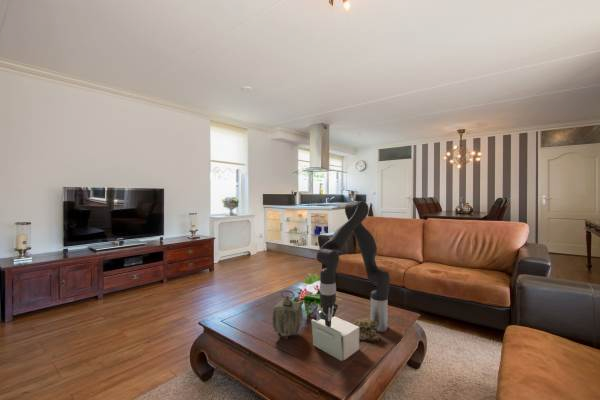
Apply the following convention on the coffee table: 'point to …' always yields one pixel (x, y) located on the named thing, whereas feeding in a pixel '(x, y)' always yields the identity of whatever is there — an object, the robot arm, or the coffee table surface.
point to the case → (346, 335)
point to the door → (327, 339)
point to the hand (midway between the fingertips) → (328, 327)
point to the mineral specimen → (367, 329)
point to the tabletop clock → (287, 316)
